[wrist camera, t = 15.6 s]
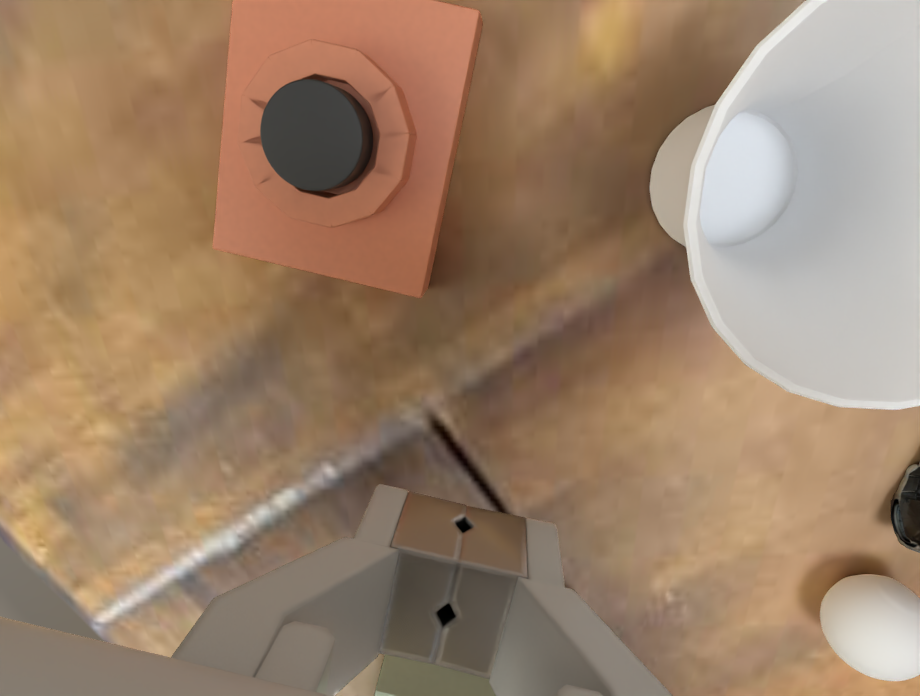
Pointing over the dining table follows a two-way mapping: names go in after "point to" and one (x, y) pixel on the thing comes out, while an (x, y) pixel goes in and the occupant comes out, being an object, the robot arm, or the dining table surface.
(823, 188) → the cup
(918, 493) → the wristwatch
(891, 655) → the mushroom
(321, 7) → the button base
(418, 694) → the panel
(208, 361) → the dining table surface
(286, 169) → the dark grey puck
